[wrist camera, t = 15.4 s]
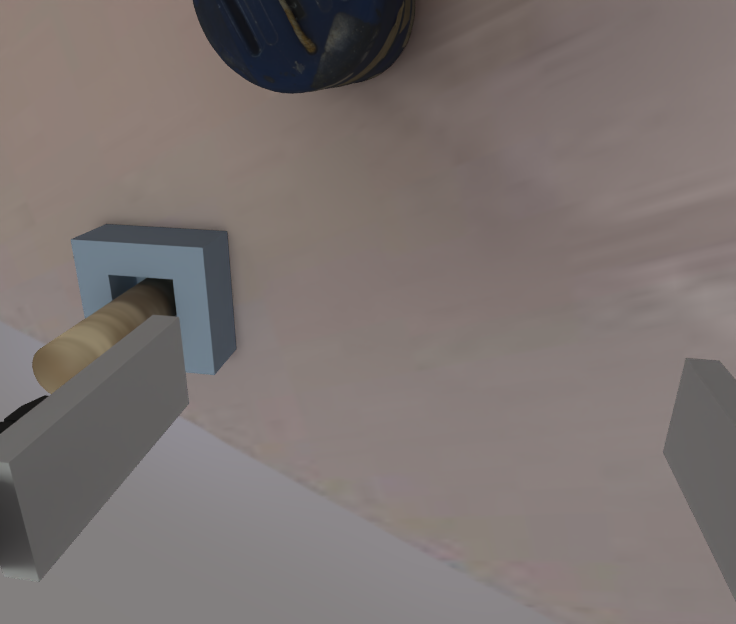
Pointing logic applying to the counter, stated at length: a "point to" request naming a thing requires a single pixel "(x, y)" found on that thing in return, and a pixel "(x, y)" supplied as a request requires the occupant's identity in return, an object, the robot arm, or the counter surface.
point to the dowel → (101, 331)
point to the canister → (306, 39)
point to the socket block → (165, 261)
